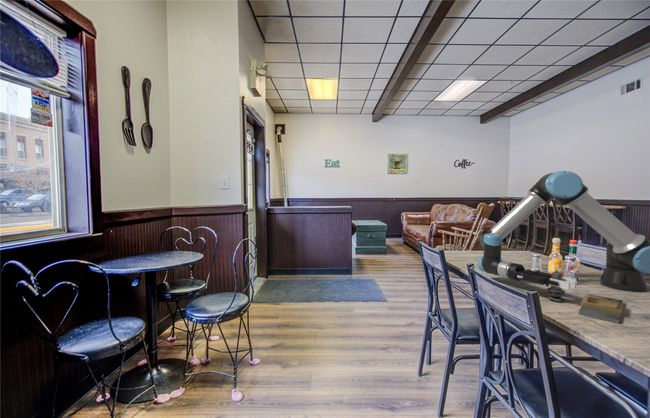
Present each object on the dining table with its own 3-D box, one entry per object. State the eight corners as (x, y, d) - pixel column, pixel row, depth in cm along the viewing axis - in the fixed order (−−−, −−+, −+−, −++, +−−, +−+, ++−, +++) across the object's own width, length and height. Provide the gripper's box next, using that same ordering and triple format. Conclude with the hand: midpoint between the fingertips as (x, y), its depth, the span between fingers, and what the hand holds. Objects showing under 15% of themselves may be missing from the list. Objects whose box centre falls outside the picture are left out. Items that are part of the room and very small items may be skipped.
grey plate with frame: (587, 296, 120) (587, 290, 120) (623, 303, 112) (623, 297, 112) (577, 314, 102) (578, 307, 102) (619, 323, 95) (619, 316, 95)
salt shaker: (566, 302, 112) (567, 272, 111) (547, 299, 115) (548, 270, 114) (563, 297, 117) (564, 268, 116) (545, 295, 120) (546, 266, 119)
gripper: (522, 276, 135) (583, 292, 114) (499, 281, 129) (559, 298, 107) (523, 261, 135) (584, 273, 114) (499, 264, 128) (560, 278, 107)
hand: (572, 285), depth 111 cm, fingers closed on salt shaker, 3 cm apart
